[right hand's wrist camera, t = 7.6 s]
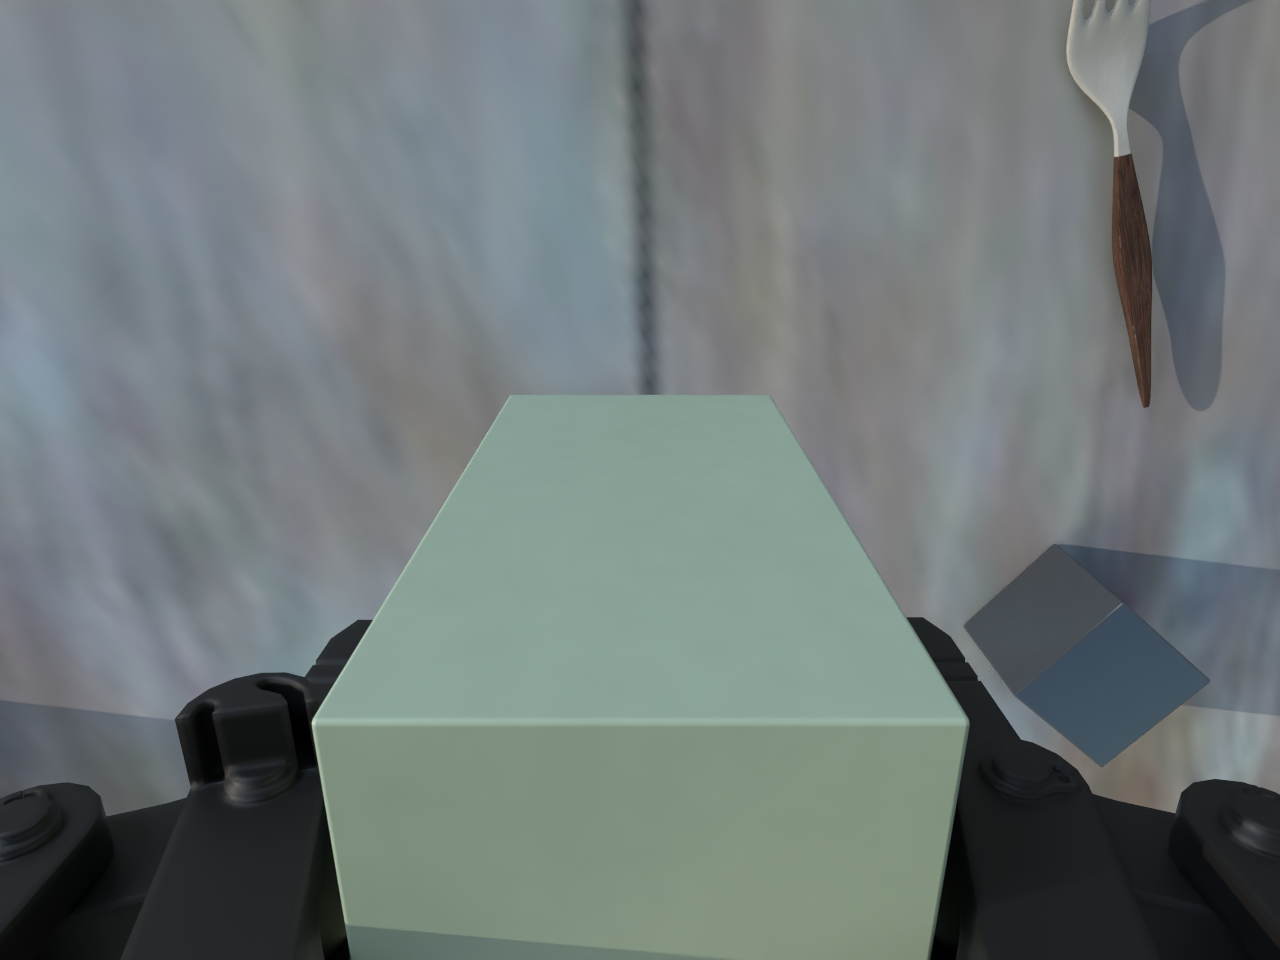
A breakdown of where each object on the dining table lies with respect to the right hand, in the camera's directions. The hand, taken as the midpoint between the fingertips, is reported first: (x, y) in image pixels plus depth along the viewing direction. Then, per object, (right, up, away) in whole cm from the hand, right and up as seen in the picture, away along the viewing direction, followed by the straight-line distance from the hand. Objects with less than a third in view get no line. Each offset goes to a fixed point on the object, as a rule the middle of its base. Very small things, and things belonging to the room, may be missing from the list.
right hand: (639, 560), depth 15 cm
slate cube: (+17, -4, +19) cm, 26 cm away
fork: (+16, +12, +14) cm, 24 cm away
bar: (0, -8, +3) cm, 9 cm away
